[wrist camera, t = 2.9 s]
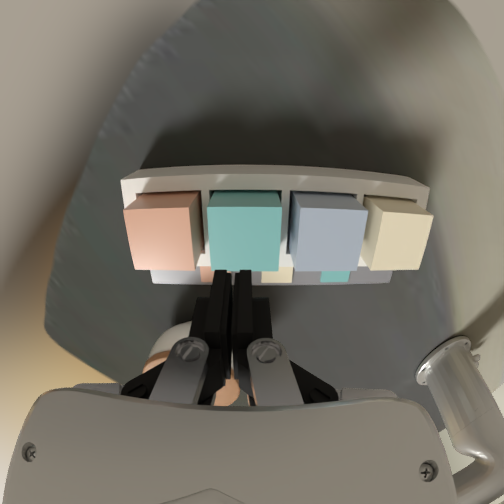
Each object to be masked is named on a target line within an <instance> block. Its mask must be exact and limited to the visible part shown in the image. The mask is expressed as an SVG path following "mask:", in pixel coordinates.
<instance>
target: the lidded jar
mask: <svg viewBox="0 0 504 504" xmlns="http://www.w3.org/2000/svg"><path fill="white" fill-rule="evenodd" d="M191 323H192V321H189V322H185V323H182V324H178V325H175V326H173V327H171V328H169V329H168V330H167V331H165V332H164V333H163V334H162V335H161V336H160V337H159V338H158V340H157V341H156V343H155V344H154V346H153V348H152V350H151V352H150V355H149V357H148V360H147V361H146V363H145V366H144V368H143V373H145V372H146V371H148V370H150V369H152V368H153V367H155V366H157V365H159V364H160V363H162V362H164V361H165V360H166V359H167V357H168V355H169V353H170V351H171V348H172V347H173V345H174V344H175V343H176V342H177V341H178V340H180V339H183V338H186V337H188V336H189V332H190V327H191ZM239 394H240V388H239V381H238V380H234V368H233V354H232V360H231V379H226V386H223V388H221V389H220V390H218V391H217V392H216V399H215V403H214V406H228V405H230V404H231V403H233V402H234V401H235V400H236V399H237V398H238V396H239Z"/></svg>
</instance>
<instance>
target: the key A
mask: <svg viewBox="0 0 504 504" xmlns="http://www.w3.org/2000/svg"><path fill="white" fill-rule="evenodd" d="M123 212H124V218H125V223H126V229H127V234H128V239H129V244H130V249H131V254H132V258H133V263H134V267H135V269H137V270H180V271H195V269H196V266H197V263H198V260H199V257H200V254H201V251H202V248H203V245H204V242H205V241H204V228H203V213H202V197H201V190H189V191H165V192H147V193H143V194H142V195H141V196H139V197H138V198H137V199H136V200H135V201H133V202H132V203H131V204H130V205H128V206H127V207H126V208H125V209H124V210H123Z"/></svg>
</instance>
